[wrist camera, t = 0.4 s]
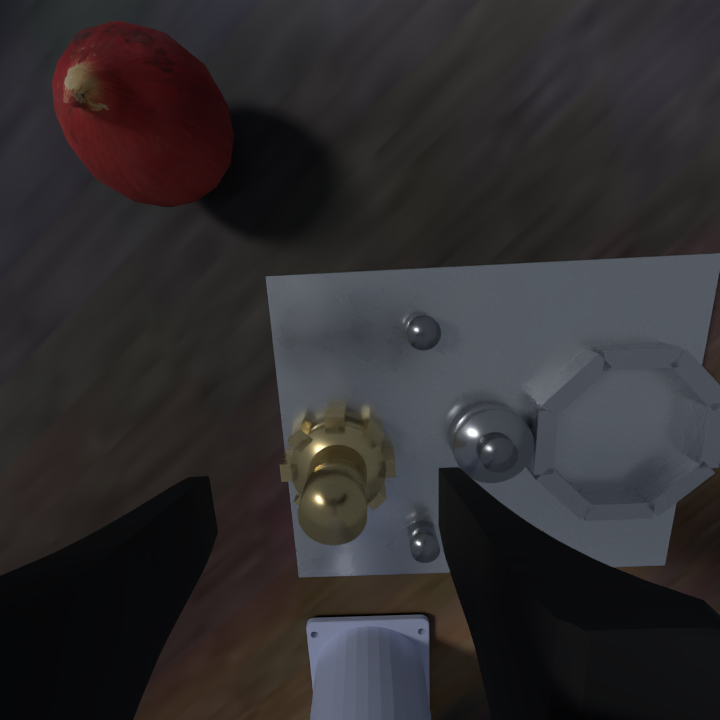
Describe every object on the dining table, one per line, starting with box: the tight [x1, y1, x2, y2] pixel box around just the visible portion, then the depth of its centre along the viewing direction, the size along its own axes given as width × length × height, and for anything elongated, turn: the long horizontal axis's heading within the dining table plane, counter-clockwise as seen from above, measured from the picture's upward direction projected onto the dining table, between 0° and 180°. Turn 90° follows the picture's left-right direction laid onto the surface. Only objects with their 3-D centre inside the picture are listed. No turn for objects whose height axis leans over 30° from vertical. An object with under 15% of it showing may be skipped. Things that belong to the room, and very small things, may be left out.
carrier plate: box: [266, 253, 720, 577], centre depth 20 cm, size 18×23×3 cm
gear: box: [280, 407, 396, 546], centre depth 19 cm, size 6×6×5 cm
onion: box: [52, 21, 234, 207], centre depth 14 cm, size 6×6×8 cm
